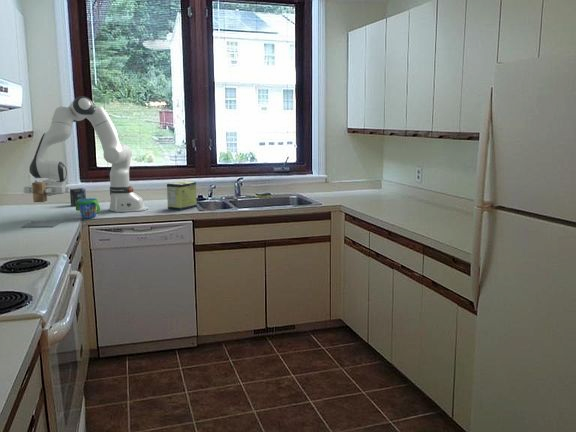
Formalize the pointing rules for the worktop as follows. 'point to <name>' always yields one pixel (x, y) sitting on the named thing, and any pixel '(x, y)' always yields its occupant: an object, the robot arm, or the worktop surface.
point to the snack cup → (87, 207)
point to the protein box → (181, 195)
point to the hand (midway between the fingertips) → (38, 191)
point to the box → (77, 195)
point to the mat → (41, 224)
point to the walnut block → (39, 192)
